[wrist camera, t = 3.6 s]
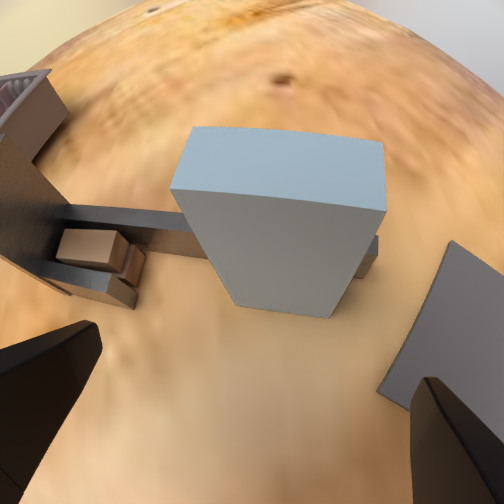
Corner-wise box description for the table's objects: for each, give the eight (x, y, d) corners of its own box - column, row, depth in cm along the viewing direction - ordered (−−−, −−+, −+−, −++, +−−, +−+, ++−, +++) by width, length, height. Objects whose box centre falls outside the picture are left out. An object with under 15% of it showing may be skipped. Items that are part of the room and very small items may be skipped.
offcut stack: (136, 288, 22) (110, 268, 18) (83, 277, 23) (54, 257, 19) (146, 256, 23) (122, 231, 19) (93, 248, 24) (66, 224, 20)
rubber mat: (496, 458, 14) (501, 459, 13) (375, 391, 18) (378, 391, 17) (549, 317, 17) (553, 315, 17) (448, 243, 21) (451, 240, 20)
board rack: (356, 348, 19) (442, 294, 8) (60, 292, 22) (-51, 223, 11) (363, 260, 21) (424, 135, 10) (83, 226, 25) (-4, 135, 14)
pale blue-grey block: (328, 318, 20) (386, 211, 8) (235, 305, 21) (169, 188, 9) (333, 281, 21) (382, 142, 9) (242, 269, 22) (193, 126, 10)
